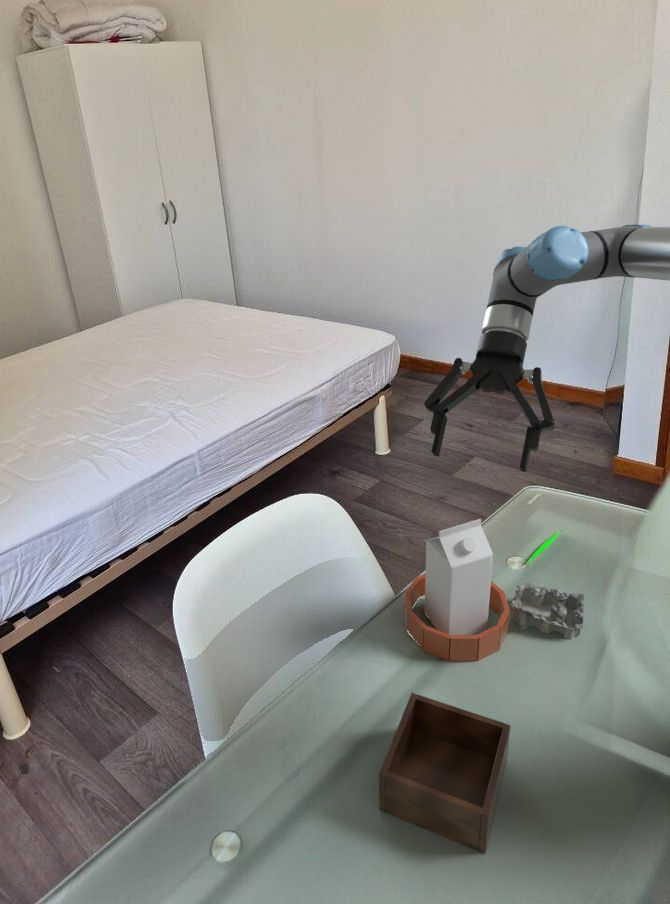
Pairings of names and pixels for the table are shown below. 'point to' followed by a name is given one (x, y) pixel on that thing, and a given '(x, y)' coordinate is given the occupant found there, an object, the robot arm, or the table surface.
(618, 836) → the table surface
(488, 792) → the box
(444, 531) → the milk carton
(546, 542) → the leaf
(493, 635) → the orange faceted ring
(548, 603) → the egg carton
